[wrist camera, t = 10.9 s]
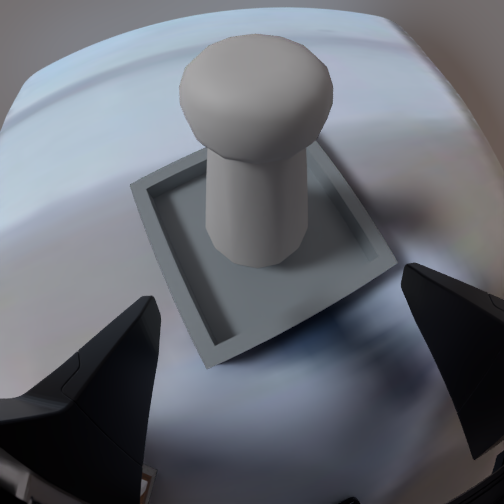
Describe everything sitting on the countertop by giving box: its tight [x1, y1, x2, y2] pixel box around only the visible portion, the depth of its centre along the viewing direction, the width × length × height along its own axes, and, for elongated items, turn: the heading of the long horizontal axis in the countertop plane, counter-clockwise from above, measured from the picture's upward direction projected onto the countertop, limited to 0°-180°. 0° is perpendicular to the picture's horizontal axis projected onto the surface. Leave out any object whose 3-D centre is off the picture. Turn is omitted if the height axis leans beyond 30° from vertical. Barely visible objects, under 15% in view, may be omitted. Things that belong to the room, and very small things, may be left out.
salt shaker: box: [179, 34, 333, 268], centre depth 12 cm, size 6×6×13 cm
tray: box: [130, 140, 398, 369], centre depth 18 cm, size 13×13×2 cm
